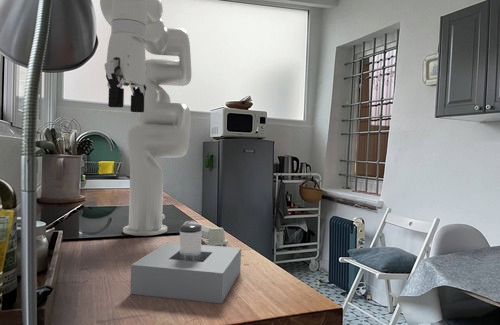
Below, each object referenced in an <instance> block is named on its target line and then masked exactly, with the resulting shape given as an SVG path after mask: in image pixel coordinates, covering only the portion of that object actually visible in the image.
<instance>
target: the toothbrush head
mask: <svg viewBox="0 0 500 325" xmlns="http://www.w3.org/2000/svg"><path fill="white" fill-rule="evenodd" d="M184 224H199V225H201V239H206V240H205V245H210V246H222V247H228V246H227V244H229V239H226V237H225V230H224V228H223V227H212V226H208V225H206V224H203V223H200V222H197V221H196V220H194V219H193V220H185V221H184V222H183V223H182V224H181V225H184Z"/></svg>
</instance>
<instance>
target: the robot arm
mask: <svg viewBox="0 0 500 325" xmlns="http://www.w3.org/2000/svg"><path fill="white" fill-rule="evenodd" d="M99 3H100V4H99V6H100V10H101V13H102V15H103V17H104V19H105V21H106V22H107V24H108V25H109V26H110V29H111V30H110V32H111V33H110V36H109V40H108V44H107V54H106V62H105V63H104V70H105V77H106V80H107V83H106V84H107V85H106V86H107V88H108V107H109V108H120V109H121V108H123V107H124V104H125V103H124V100H125V99H124V98H125V95H124V94H125V88H124V87H128V86H129V87H130V91H131V93H132V94H131V95H130V112H131V113H139V117H138V122H139V124H135V125H134V126H132V127H131V128H130V129H129V130H128V133H127V145H128V153H129V154H128V155H129V197H128V199H129V203H128V204H129V206H128V210H129V211H128V225H125V226H123V227H122V232H123V233H124V234H125V235H131V236H143V237H147V236H148V237H149V236H157V235H162V234H165V233H166V232H168V226H167V225H165V224H163V220H164V219H165V218H166V215H165V214H164V213H163V211H164V210H163V209H164V208H163V206H164V205H163V204H164V202H163V201H164V171H163V168H162V167H161V165H160V163H158V161H157V159H155V158H172V159H173V158H184V157H185V155H187V153H188V150H189V147H190V137H191V127H192V126H191V125H192V116H191V115H192V114H191V110H190V108H189V107H188V106H187V105H186V104H184V103H179V102H171V97H170V95H169V94H168V93H167V91H166V90H165V89H164V88H163V87H161V86H178V87H184V86H187V85H189V84H190V83H191V80H192V61H191V60H192V57H191V56H192V55H191V45H190V38H189V34H188V33H187V31H186V29H184V28H181V27H180V28H179V27H177V28H176V27H165V25H164V22H163V19H161V18H162V16H163V4H162V1H161V0H99ZM146 52H148V53H150V54H151V55H156V56H168V57H169V56H170V57H178V59H167V58H165V59H163V58H150V59H146Z"/></svg>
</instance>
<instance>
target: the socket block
mask: <svg viewBox="0 0 500 325" xmlns="http://www.w3.org/2000/svg"><path fill="white" fill-rule="evenodd" d="M241 262H242V248H241V247H235V246H227V247H222V246H210V245H207V244H201V262H195V261H184V260H180V242H171V241H168V242H164V243H163V244H162V245H160V246H159V247H157V248H156V249H154V250H153V251H150V252H149V253H148V254H146V255H145V256H144V255H143V257H141V258H140V259H138V260H137V261H135V262H133V263H132V264H130V295H138V296H147V297H156V298H165V299H166V298H167V299H175V300H186V301H193V302H194V301H195V302H204V303H212V304H214V303H215V304H223V303H224V301H225V299H226V297H227V295H228V294H229V292H230V291H231V289H232V287H233V285H234V284H235V281H236V280H237V278H238V277H239V274H240V273H241V264H242V263H241Z"/></svg>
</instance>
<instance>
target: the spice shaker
mask: <svg viewBox="0 0 500 325" xmlns="http://www.w3.org/2000/svg"><path fill="white" fill-rule="evenodd" d="M179 243H180V260H184V261H195V262H201V245H202V238H201V225H199V224H184V225H182V224H181V225H179Z"/></svg>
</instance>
